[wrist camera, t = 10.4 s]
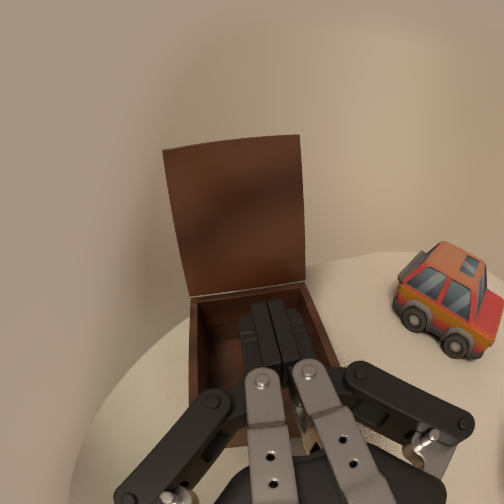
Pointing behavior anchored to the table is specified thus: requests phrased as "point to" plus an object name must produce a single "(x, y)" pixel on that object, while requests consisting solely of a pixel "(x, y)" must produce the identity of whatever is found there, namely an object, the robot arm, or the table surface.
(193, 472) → the robot arm
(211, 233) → the lid
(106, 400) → the table surface
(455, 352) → the toy car
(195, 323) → the case
